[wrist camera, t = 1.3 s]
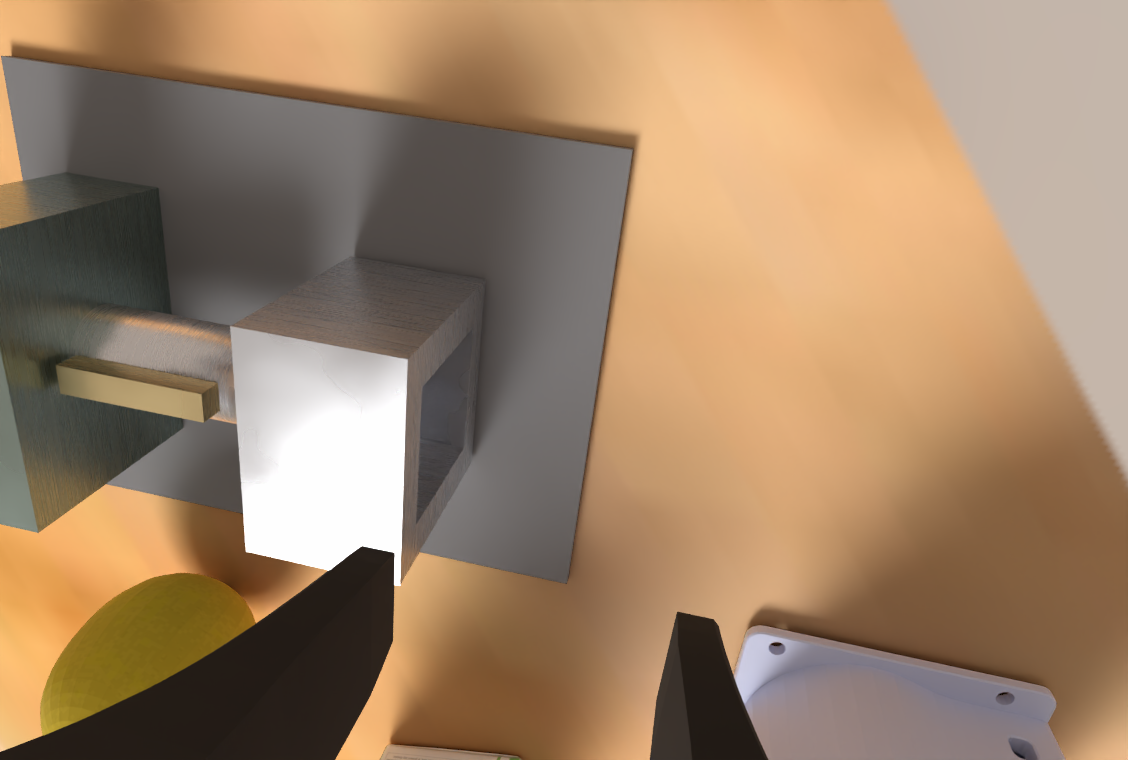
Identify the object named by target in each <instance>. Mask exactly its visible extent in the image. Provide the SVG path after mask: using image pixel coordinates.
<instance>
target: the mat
mask: <svg viewBox="0 0 1128 760" xmlns="http://www.w3.org/2000/svg"><path fill="white" fill-rule="evenodd" d="M1 58H2V64H3V70H4V75H5V81H6V87H7V92H8V98H9V104H10V109H11V115H12V121H13V126H14V132H15V138H16V143H17V149H18V155H19V160H20V166H21V172H22V177H23V181H24V180H29V179H34V178H39V177H44V176H49V175H54V174H59V173H64V172H67V173H73V174H79V175H85V176H91V177H97V178H103V179H109V180H115V181H121V182H127V183H133V184H139V185H145V186H151V187H157V188H159V196H160V205H161V215H162V225H163V234H164V244H165V254H166V263H167V273H168V283H169V292H170V302H171V312H172V315H176V316H182V317H187V318H193V319H198V320H203V321H209V322H214V323H219V324H225V325H230V326H231V325H233V324H235V323H237V322H238V321H240V320H242V319H243V318H245V317H247V316H249V315H250V314H252V313H254V312H255V311H257V310H259V309H261V308H262V307H264V306H266V305H267V304H269V303H271V302H273V301H274V300H276V299H278V298H279V297H281V296H283V295H285V294H286V293H288V292H290V291H292V290H293V289H295V288H297V287H298V286H300V285H302V284H304V283H305V282H307V281H309V280H310V279H312V278H314V277H316V276H317V275H319V274H321V273H322V272H324V271H326V270H328V269H329V268H331V267H333V266H334V265H336V264H338V263H340V262H341V261H343V260H345V259H347V258H348V257H350V256H352V257H358V258H364V259H369V260H375V261H381V262H387V263H393V264H398V265H404V266H410V267H416V268H422V269H427V270H433V271H439V272H445V273H451V274H456V275H462V276H468V277H474V278H480V279H485V280H486V282H485V295H484V308H483V321H482V333H481V346H480V359H479V372H478V384H477V397H476V410H475V423H474V435H473V448H472V461H471V465H470V466H469V468H468V470H467V471H466V473H465V475H464V477H463V478H462V480H461V482H460V483H459V485H458V487H457V489H456V490H455V492H454V494H453V495H452V497H451V499H450V501H449V502H448V504H447V506H446V507H445V509H444V511H443V513H442V514H441V516H440V518H439V519H438V521H437V523H436V525H435V526H434V528H433V530H432V531H431V533H430V535H429V537H428V538H427V540H426V542H425V543H424V545H423V547H422V548H421V550H420V552H422V553H426V554H431V555H436V556H440V557H445V558H450V559H454V560H459V561H463V562H468V563H473V564H477V565H482V566H486V567H491V568H496V569H500V570H505V571H510V572H514V573H519V574H523V575H528V576H533V577H537V578H542V579H546V580H551V581H556V582H560V583H565V584H567V581H568V577H569V570H570V564H571V557H572V551H573V544H574V537H575V531H576V524H577V518H578V511H579V504H580V498H581V491H582V485H583V478H584V471H585V465H586V458H587V452H588V445H589V439H590V432H591V425H592V419H593V412H594V406H595V399H596V392H597V386H598V379H599V373H600V366H601V360H602V353H603V346H604V340H605V333H606V327H607V320H608V313H609V307H610V300H611V294H612V287H613V280H614V274H615V267H616V261H617V254H618V248H619V241H620V234H621V228H622V221H623V215H624V208H625V201H626V195H627V188H628V182H629V175H630V168H631V162H632V155H633V148H626V147H619V146H613V145H606V144H599V143H592V142H586V141H579V140H572V139H565V138H559V137H552V136H545V135H538V134H532V133H525V132H518V131H512V130H505V129H498V128H491V127H485V126H478V125H471V124H464V123H458V122H451V121H444V120H437V119H431V118H424V117H417V116H411V115H404V114H397V113H390V112H384V111H377V110H370V109H363V108H357V107H350V106H343V105H336V104H330V103H323V102H316V101H310V100H303V99H296V98H289V97H283V96H276V95H269V94H262V93H256V92H249V91H242V90H236V89H229V88H222V87H215V86H209V85H202V84H195V83H188V82H182V81H175V80H168V79H161V78H155V77H148V76H141V75H135V74H128V73H121V72H114V71H108V70H101V69H94V68H87V67H81V66H74V65H67V64H60V63H54V62H47V61H40V60H34V59H27V58H20V57H13V56H1ZM183 427H184V428H183V429H181V430H180V431H179V432H177V433H176V434H174V435H173V436H172V437H170V438H169V439H167V440H166V441H165V442H163V443H162V444H161V445H159V446H158V447H156V448H155V449H154V450H152V451H151V452H149V453H148V454H147V455H145V456H144V457H143V458H141V459H140V460H138V461H137V462H136V463H134V464H133V465H131V466H130V467H129V468H127V469H126V470H125V471H123V472H122V473H120V474H119V475H118V476H116V477H115V478H113V479H112V480H111V481H109V482H108V483H106V484H108V485H113V486H117V487H122V488H127V489H131V490H136V491H140V492H145V493H150V494H154V495H159V496H164V497H168V498H173V499H177V500H182V501H187V502H191V503H196V504H200V505H205V506H210V507H214V508H219V509H224V510H228V511H233V512H237V513H242V514H243V503H242V489H241V475H240V460H239V446H238V432H237V424H234V423H229V422H224V421H219V420H214V419H208V420H207V421H206V422H204V423H203V422H198V421H193V420H188V419H183Z"/></svg>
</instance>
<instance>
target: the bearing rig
mask: <svg viewBox="0 0 1128 760" xmlns="http://www.w3.org/2000/svg"><path fill="white" fill-rule="evenodd" d="M183 419H188V420H193V421H198V422H203V423H204V422H206V421H207V420H208V419H214V420H219V421H224V422H229V423H234V424H237V417H236V403H235V389H234V374H233V360H232V346H231V332H230V325H225V324H219V323H214V322H209V321H203V320H198V319H193V318H187V317H182V316H176V315H172V312H171V302H170V292H169V283H168V273H167V263H166V254H165V244H164V234H163V225H162V215H161V205H160V196H159V188H157V187H151V186H145V185H139V184H133V183H127V182H121V181H115V180H109V179H103V178H97V177H91V176H85V175H79V174H73V173H67V172H64V173H59V174H54V175H49V176H44V177H39V178H34V179H29V180H24V181H19V182H14V183H9V184H4V185H0V524H2V525H7V526H11V527H15V528H20V529H24V530H29V531H33V532H37V533H39V532H40V531H41V530H43V529H44V528H46V527H47V526H48V525H50V524H51V523H52V522H54V521H55V520H57V519H58V518H59V517H61V516H62V515H64V514H65V513H66V512H68V511H69V510H70V509H72V508H73V507H75V506H76V505H77V504H79V503H80V502H82V501H83V500H84V499H86V498H87V497H88V496H90V495H91V494H93V493H94V492H95V491H97V490H98V489H100V488H101V487H102V486H104V485H105V484H106V483H108V482H109V481H111V480H112V479H113V478H115V477H116V476H118V475H119V474H120V473H122V472H123V471H125V470H126V469H127V468H129V467H130V466H131V465H133V464H134V463H136V462H137V461H138V460H140V459H141V458H143V457H144V456H145V455H147V454H148V453H149V452H151V451H152V450H154V449H155V448H156V447H158V446H159V445H161V444H162V443H163V442H165V441H166V440H167V439H169V438H170V437H172V436H173V435H174V434H176V433H177V432H179V431H180V430H181V429H183V428H184V427H183Z"/></svg>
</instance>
